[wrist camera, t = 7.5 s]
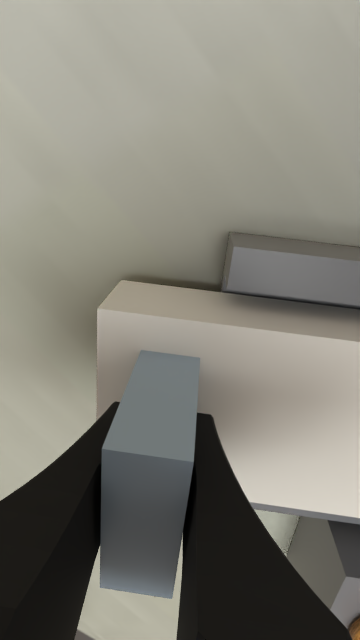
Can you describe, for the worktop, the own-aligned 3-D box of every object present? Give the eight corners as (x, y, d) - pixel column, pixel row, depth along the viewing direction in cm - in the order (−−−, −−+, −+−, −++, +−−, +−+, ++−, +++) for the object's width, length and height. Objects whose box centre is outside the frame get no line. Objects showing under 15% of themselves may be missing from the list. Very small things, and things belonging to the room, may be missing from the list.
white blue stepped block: (421, 317, 14) (647, 474, 7) (360, 461, 17) (470, 674, 10) (121, 279, 14) (29, 389, 7) (116, 426, 17) (48, 605, 10)
